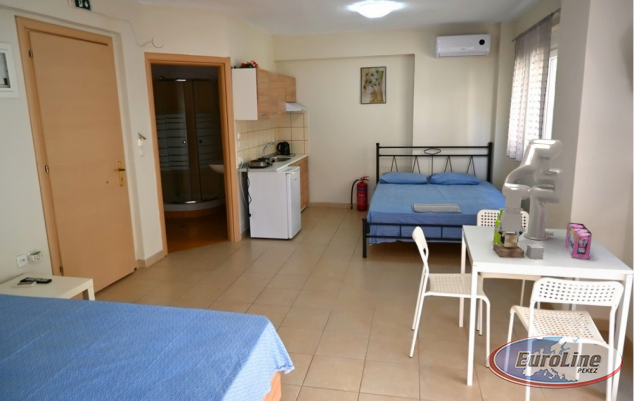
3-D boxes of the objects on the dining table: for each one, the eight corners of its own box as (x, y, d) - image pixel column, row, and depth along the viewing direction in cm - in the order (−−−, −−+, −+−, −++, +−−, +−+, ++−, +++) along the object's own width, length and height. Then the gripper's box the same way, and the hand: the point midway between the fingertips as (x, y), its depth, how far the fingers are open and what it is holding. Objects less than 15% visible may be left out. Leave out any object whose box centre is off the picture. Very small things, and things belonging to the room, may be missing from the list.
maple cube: (512, 243, 235) (513, 232, 234) (516, 247, 229) (517, 236, 228) (501, 243, 236) (502, 232, 234) (504, 246, 230) (506, 235, 229)
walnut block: (515, 251, 239) (516, 244, 238) (523, 258, 227) (524, 251, 226) (492, 250, 240) (493, 243, 239) (499, 258, 228) (500, 250, 227)
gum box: (589, 260, 224) (593, 235, 221) (572, 258, 227) (575, 233, 224) (580, 247, 246) (583, 223, 243) (564, 245, 249) (567, 222, 246)
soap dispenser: (507, 244, 250) (511, 210, 246) (495, 244, 250) (498, 210, 246) (504, 241, 255) (507, 207, 251) (491, 241, 256) (494, 207, 252)
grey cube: (537, 255, 231) (539, 244, 230) (542, 259, 225) (543, 248, 224) (526, 255, 232) (527, 244, 231) (530, 259, 226) (531, 247, 225)
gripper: (526, 208, 232) (523, 241, 235) (493, 208, 233) (490, 240, 237) (532, 212, 224) (528, 246, 228) (497, 211, 226) (494, 245, 229)
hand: (509, 243), depth 232 cm, fingers closed on maple cube, 5 cm apart
